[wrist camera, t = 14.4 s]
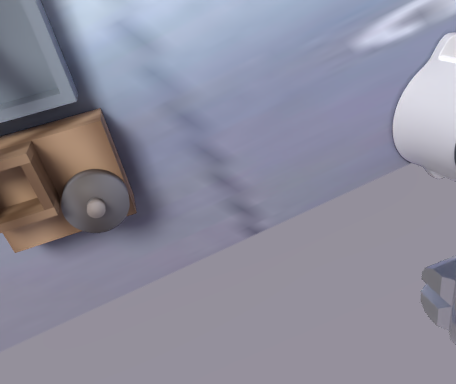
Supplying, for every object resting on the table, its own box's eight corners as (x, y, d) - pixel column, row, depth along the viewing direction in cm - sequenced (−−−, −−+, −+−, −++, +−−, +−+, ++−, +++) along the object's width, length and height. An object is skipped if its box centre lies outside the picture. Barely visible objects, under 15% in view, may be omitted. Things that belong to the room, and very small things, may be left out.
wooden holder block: (100, 108, 38) (101, 131, 32) (133, 194, 43) (139, 228, 37) (-29, 144, 36) (-54, 176, 31) (21, 230, 42) (9, 272, 36)
